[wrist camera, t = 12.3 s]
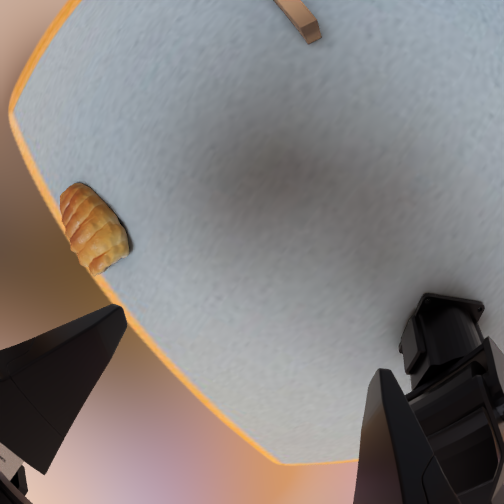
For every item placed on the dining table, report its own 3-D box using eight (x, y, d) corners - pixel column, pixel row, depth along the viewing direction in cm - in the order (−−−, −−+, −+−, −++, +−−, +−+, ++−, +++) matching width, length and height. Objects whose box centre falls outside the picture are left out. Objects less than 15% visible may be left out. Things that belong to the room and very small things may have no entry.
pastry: (63, 202, 27) (38, 215, 24) (89, 165, 24) (60, 177, 20) (109, 270, 29) (87, 288, 26) (142, 244, 26) (118, 264, 23)
